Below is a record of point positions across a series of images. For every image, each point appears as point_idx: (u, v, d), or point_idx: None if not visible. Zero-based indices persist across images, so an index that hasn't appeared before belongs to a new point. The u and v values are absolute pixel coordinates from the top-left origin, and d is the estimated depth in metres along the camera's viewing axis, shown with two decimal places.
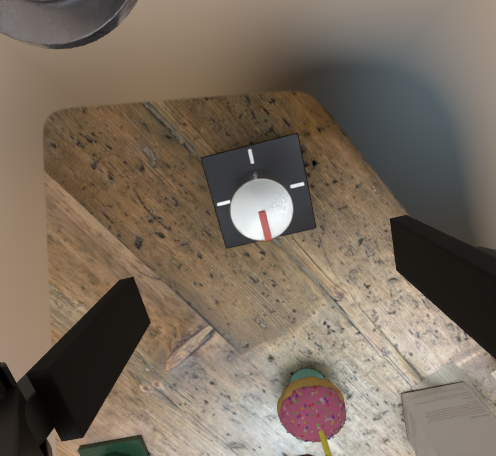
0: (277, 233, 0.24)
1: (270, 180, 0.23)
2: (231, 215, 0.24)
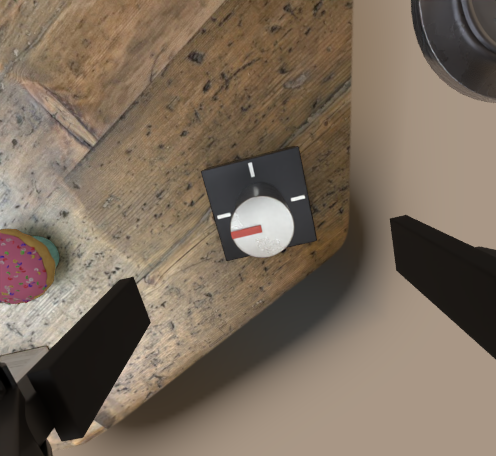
0: (238, 243, 0.24)
1: (292, 235, 0.23)
2: (257, 197, 0.23)
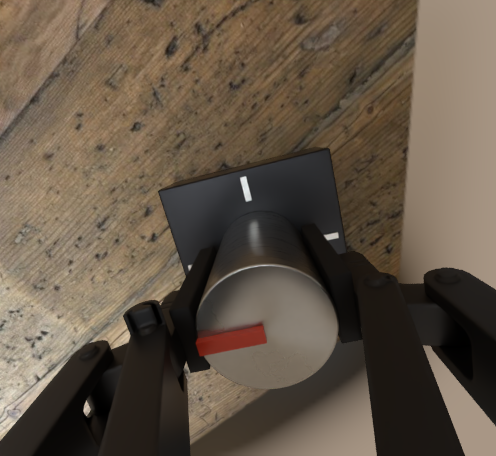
0: (214, 361, 0.11)
1: (332, 347, 0.11)
2: (255, 267, 0.10)
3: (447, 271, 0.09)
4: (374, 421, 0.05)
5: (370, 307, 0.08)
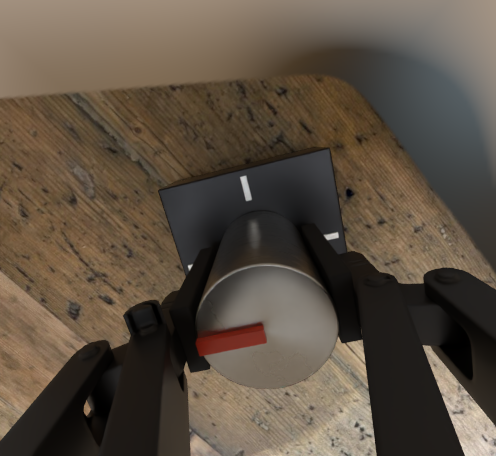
0: (214, 361, 0.11)
1: (332, 347, 0.11)
2: (255, 267, 0.10)
3: (447, 271, 0.09)
4: (374, 421, 0.05)
5: (370, 307, 0.08)
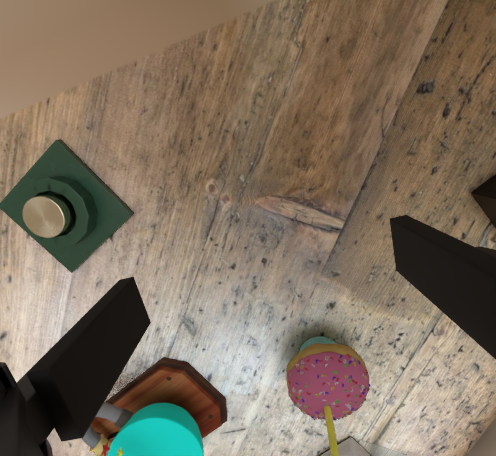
0: None
1: None
2: None
3: None
4: None
5: None
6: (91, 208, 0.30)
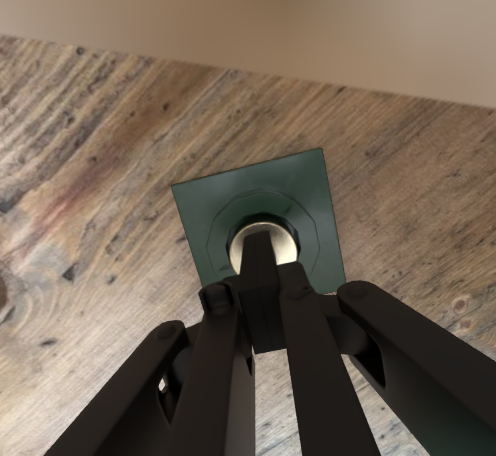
0: None
1: None
2: None
3: (356, 284, 0.09)
4: (300, 433, 0.05)
5: (292, 319, 0.09)
6: None
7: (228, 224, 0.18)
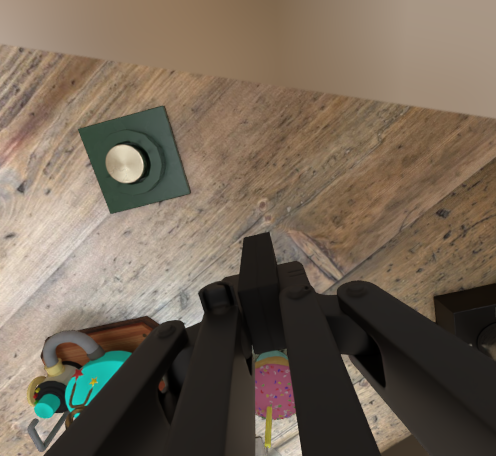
0: None
1: None
2: None
3: (356, 284, 0.09)
4: (300, 433, 0.05)
5: (292, 319, 0.09)
6: (162, 174, 0.34)
7: (108, 148, 0.32)
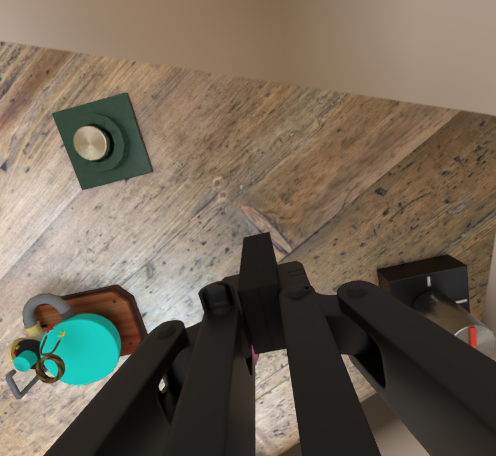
0: (463, 330, 0.32)
1: None
2: (495, 342, 0.33)
3: (356, 284, 0.09)
4: (300, 433, 0.05)
5: (292, 319, 0.09)
6: (125, 153, 0.38)
7: (76, 130, 0.37)
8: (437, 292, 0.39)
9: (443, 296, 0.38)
